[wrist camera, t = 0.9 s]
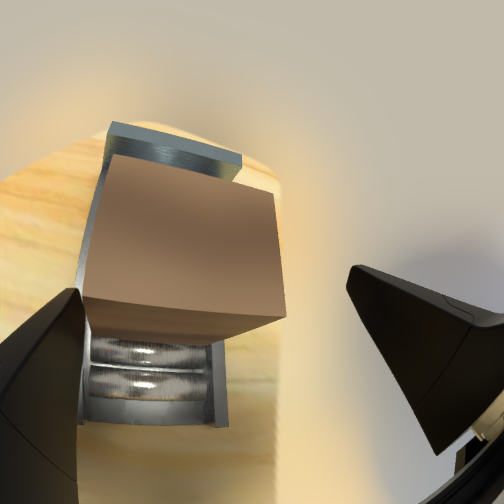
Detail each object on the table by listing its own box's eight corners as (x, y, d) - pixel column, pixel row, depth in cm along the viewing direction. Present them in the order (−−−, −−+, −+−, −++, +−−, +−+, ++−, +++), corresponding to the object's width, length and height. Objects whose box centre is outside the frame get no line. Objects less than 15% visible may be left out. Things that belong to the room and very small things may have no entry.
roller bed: (212, 421, 16) (257, 435, 12) (74, 416, 12) (60, 435, 8) (208, 201, 24) (241, 154, 19) (103, 178, 20) (112, 121, 15)
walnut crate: (205, 345, 16) (286, 316, 9) (92, 335, 13) (81, 295, 6) (204, 265, 18) (273, 193, 12) (102, 248, 15) (113, 153, 9)
